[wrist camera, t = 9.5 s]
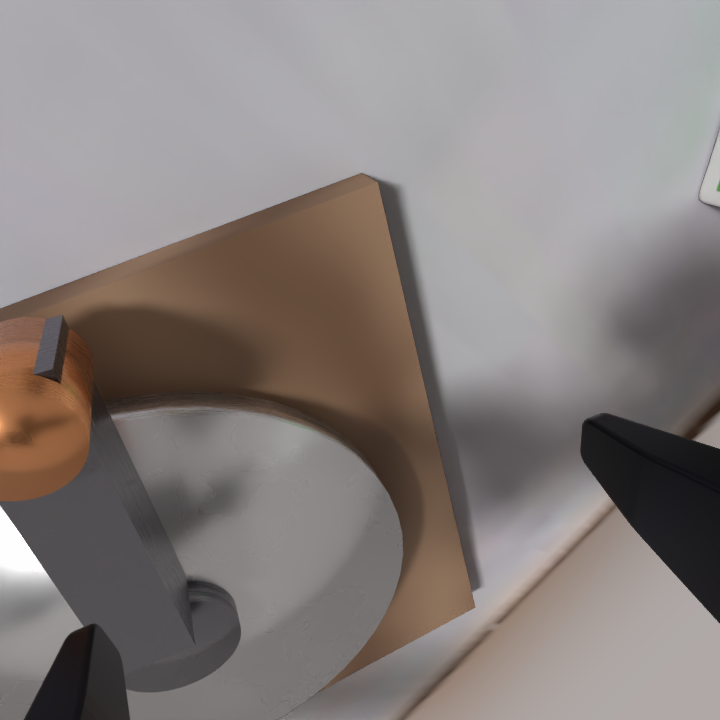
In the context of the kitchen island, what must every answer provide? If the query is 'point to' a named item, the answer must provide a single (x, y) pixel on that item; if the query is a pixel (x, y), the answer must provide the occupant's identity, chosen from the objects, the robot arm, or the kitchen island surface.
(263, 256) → the wheel base
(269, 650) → the handwheel
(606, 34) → the kitchen island surface
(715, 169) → the skincare box
